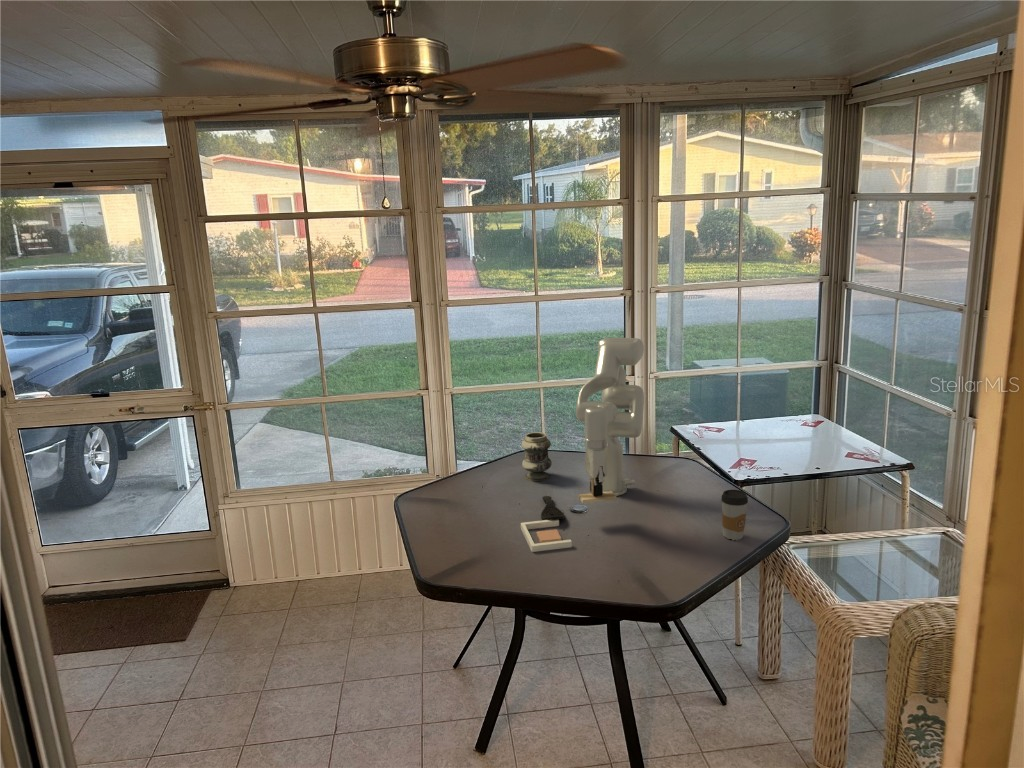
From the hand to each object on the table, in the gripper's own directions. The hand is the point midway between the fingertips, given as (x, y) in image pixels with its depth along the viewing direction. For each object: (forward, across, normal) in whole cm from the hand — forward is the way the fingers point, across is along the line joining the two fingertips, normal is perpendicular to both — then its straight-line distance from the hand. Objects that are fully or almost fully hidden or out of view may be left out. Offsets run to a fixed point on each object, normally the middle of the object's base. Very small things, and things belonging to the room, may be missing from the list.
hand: (596, 493), depth 245 cm
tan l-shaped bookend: (+2, 0, 0) cm, 2 cm away
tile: (+11, +9, -19) cm, 24 cm away
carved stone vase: (+10, -46, -11) cm, 49 cm away
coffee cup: (+10, +24, +39) cm, 47 cm away
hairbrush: (+10, -11, -14) cm, 20 cm away
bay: (+10, +9, -20) cm, 24 cm away
